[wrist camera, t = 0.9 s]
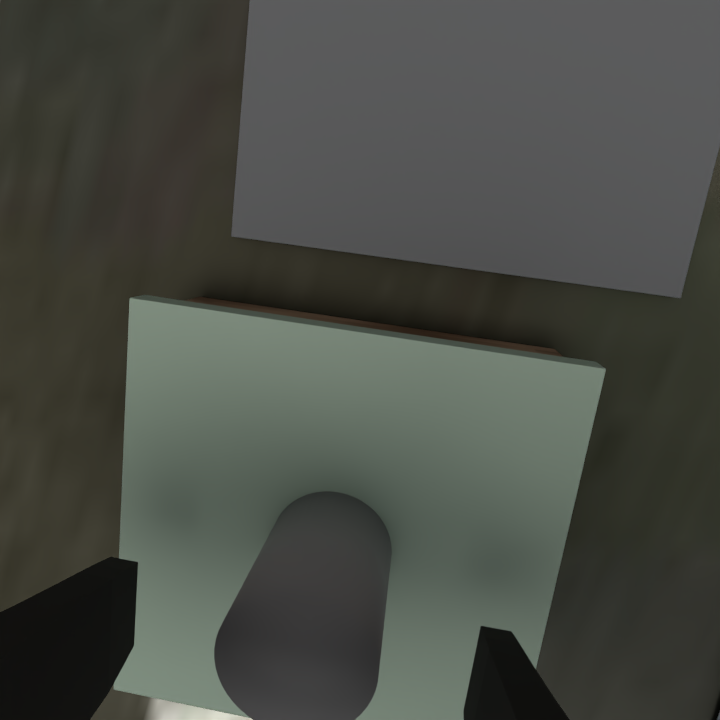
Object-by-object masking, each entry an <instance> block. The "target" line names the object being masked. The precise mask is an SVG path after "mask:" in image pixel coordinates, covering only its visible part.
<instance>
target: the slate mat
mask: <svg viewBox="0 0 720 720" xmlns="http://www.w3.org/2000/svg"><path fill="white" fill-rule="evenodd" d="M719 146H720V0H250V4H249V17H248V29H247V42H246V55H245V67H244V80H243V93H242V106H241V118H240V131H239V144H238V157H237V169H236V182H235V195H234V207H233V220H232V233H231V236H232V237H240V238H247V239H254V240H262V241H269V242H276V243H283V244H291V245H298V246H305V247H312V248H320V249H327V250H334V251H341V252H349V253H356V254H363V255H371V256H378V257H385V258H392V259H400V260H407V261H414V262H421V263H429V264H436V265H443V266H450V267H458V268H465V269H472V270H480V271H487V272H494V273H501V274H509V275H516V276H523V277H530V278H538V279H545V280H552V281H560V282H567V283H574V284H581V285H589V286H596V287H603V288H610V289H618V290H625V291H632V292H639V293H647V294H654V295H661V296H669V297H676V298H681V294H682V291H683V287H684V283H685V279H686V275H687V271H688V267H689V263H690V259H691V256H692V252H693V248H694V244H695V240H696V236H697V232H698V228H699V224H700V220H701V217H702V213H703V209H704V205H705V201H706V197H707V193H708V189H709V185H710V181H711V178H712V174H713V170H714V166H715V162H716V158H717V154H718V150H719Z"/></svg>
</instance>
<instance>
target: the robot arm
mask: <svg viewBox="0 0 720 720" xmlns="http://www.w3.org/2000/svg"><path fill="white" fill-rule="evenodd" d="M137 575H138V562H135V561H130V560H125V559H119V558H114V557H110V558H107V559H105V560H103V561H101V562H99V563H97V564H95V565H93V566H91V567H89V568H87V569H85V570H83V571H81V572H79V573H77V574H75V575H73V576H71V577H69V578H67V579H65V580H64V581H62V582H60V583H58V584H56V585H54V586H52V587H50V588H48V589H46V590H44V591H42V592H40V593H38V594H36V595H34V596H32V597H30V598H29V599H27V600H25V601H23V602H21V603H19V604H17V605H15V606H13V607H11V608H8V609H6V610H4V611H2V612H0V720H90V719H91V717H92V716H93V714H94V713H95V711H96V710H97V709H98V707H99V706H100V704H101V703H102V701H103V700H104V698H105V697H106V696H107V694H108V693H109V691H110V689H111V687H112V685H113V684H114V682H115V680H116V678H117V677H118V675H119V673H120V671H121V669H122V667H123V666H124V664H125V662H126V660H127V658H128V656H129V654H130V652H131V650H132V649H133V647H134V637H135V616H136V596H137ZM463 714H464V720H569V718H568V717H567V716H566V714H565V713H564V711H563V710H562V708H561V707H560V705H559V704H558V703H557V701H556V700H555V698H554V697H553V695H552V694H551V692H550V691H549V689H548V688H547V686H546V685H545V683H544V681H543V680H542V678H541V677H540V675H539V674H538V672H537V671H536V669H535V667H534V666H533V664H532V663H531V661H530V659H529V658H528V656H527V655H526V653H525V651H524V650H523V648H522V647H521V645H520V643H519V642H518V640H517V639H516V637H515V636H514V634H513V633H512V631H507V630H502V629H496V628H491V627H486V626H481V627H480V632H479V637H478V642H477V647H476V652H475V657H474V662H473V666H472V671H471V676H470V681H469V686H468V691H467V696H466V701H465V705H464V710H463ZM717 720H720V712H719V715H718V718H717Z"/></svg>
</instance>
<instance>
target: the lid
mask: <svg viewBox="0 0 720 720" xmlns="http://www.w3.org/2000/svg"><path fill="white" fill-rule="evenodd" d="M605 371H606V369H605V368H604V367H602V366H601V365H600V364H598V363H597V362H594V361H587V360H581V359H574V358H567V357H560V356H554V355H547V354H540V353H533V352H527V351H520V350H513V349H506V348H500V347H493V346H486V345H479V344H473V343H466V342H459V341H453V340H446V339H439V338H432V337H426V336H419V335H412V334H405V333H399V332H392V331H385V330H378V329H372V328H365V327H358V326H351V325H345V324H338V323H331V322H324V321H318V320H311V319H304V318H297V317H291V316H284V315H277V314H270V313H264V312H257V311H250V310H243V309H237V308H230V307H223V306H216V305H210V304H203V303H196V302H189V301H183V300H176V299H169V298H162V297H156V296H149V295H142V296H137V297H132V298H130V302H129V327H128V351H127V376H126V400H125V425H124V450H123V474H122V499H121V523H120V548H119V559H125V560H130V561H135V562H138V575H137V596H136V616H135V637H134V647H133V649H132V650H131V652H130V654H129V656H128V658H127V660H126V662H125V664H124V666H123V667H122V669H121V671H120V673H119V675H118V677H117V678H116V680H115V682H114V690H119V691H124V692H129V693H133V694H138V695H143V696H148V697H153V698H157V699H162V700H167V701H172V702H176V703H181V704H186V705H191V706H196V707H200V708H205V709H210V710H215V711H220V712H224V713H229V714H234V715H239V716H243V717H248V718H252V719H253V720H464V714H463V710H464V705H465V701H466V696H467V691H468V686H469V681H470V676H471V671H472V666H473V662H474V657H475V652H476V647H477V642H478V637H479V632H480V627H481V626H486V627H491V628H496V629H502V630H507V631H512V633H513V634H514V636H515V637H516V639H517V640H518V642H519V643H520V645H521V647H522V648H523V650H524V651H525V653H526V655H527V656H528V658H529V659H530V661H531V663H532V664H533V666H534V667H535V669H536V666H537V662H538V657H539V653H540V649H541V645H542V640H543V636H544V632H545V627H546V623H547V619H548V615H549V610H550V606H551V602H552V597H553V593H554V589H555V585H556V580H557V576H558V572H559V568H560V563H561V559H562V555H563V550H564V546H565V542H566V538H567V533H568V529H569V525H570V521H571V516H572V512H573V508H574V503H575V499H576V495H577V491H578V486H579V482H580V478H581V473H582V469H583V465H584V461H585V456H586V452H587V448H588V444H589V439H590V435H591V431H592V426H593V422H594V418H595V414H596V409H597V405H598V401H599V397H600V392H601V388H602V384H603V379H604V375H605Z"/></svg>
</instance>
